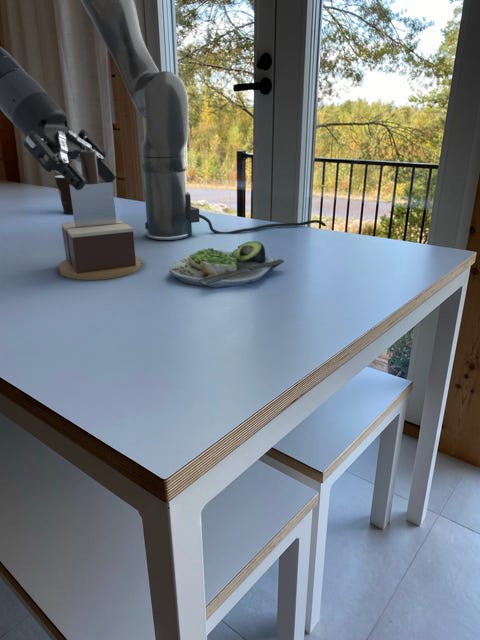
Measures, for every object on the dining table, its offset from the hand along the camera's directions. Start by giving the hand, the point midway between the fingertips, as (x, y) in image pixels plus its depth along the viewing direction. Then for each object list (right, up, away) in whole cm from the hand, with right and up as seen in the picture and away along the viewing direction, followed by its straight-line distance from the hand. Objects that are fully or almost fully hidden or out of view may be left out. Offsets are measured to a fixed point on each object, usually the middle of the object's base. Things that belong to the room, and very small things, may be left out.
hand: (98, 183), depth 79 cm
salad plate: (+21, -15, +4) cm, 26 cm away
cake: (-1, -13, +6) cm, 15 cm away
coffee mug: (-23, +8, +58) cm, 63 cm away
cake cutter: (-1, -6, +3) cm, 7 cm away
